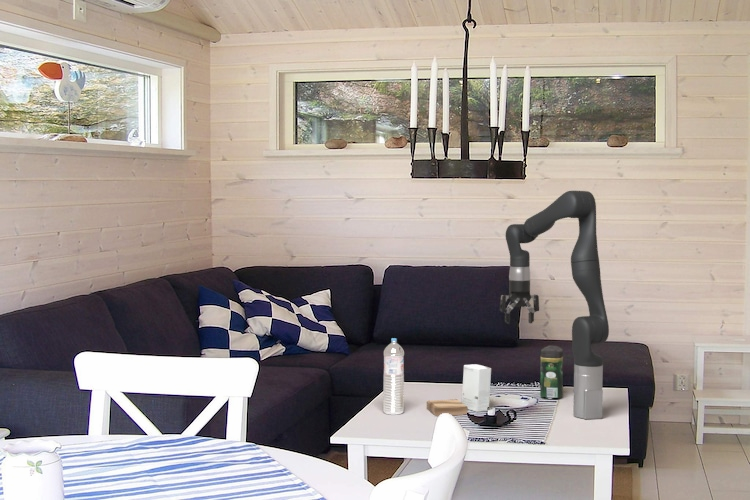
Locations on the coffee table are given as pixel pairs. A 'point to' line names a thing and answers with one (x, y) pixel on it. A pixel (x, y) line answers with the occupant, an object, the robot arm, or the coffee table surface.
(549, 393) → the coffee jar
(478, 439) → the coffee table surface
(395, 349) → the water bottle
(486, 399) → the skincare box
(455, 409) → the plinth
